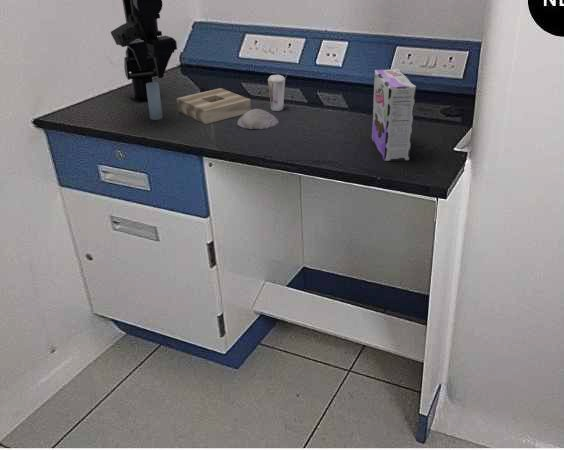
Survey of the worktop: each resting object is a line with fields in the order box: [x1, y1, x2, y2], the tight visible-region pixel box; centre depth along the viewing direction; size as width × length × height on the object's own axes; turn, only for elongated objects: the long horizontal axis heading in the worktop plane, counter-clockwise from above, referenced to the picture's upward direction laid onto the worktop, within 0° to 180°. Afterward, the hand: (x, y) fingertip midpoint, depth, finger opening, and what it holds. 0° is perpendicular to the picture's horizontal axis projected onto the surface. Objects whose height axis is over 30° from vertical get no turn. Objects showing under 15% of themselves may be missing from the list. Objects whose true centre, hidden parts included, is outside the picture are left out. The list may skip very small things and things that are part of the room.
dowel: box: [146, 81, 163, 121], centre depth 161 cm, size 3×3×9 cm
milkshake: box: [267, 72, 289, 112], centre depth 165 cm, size 4×5×10 cm
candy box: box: [371, 68, 417, 162], centre depth 137 cm, size 14×6×16 cm, turn 5°
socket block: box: [176, 87, 252, 125], centre depth 166 cm, size 14×14×4 cm
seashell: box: [237, 108, 279, 130], centre depth 157 cm, size 10×6×10 cm
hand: (151, 74), depth 158 cm, fingers open, 9 cm apart
